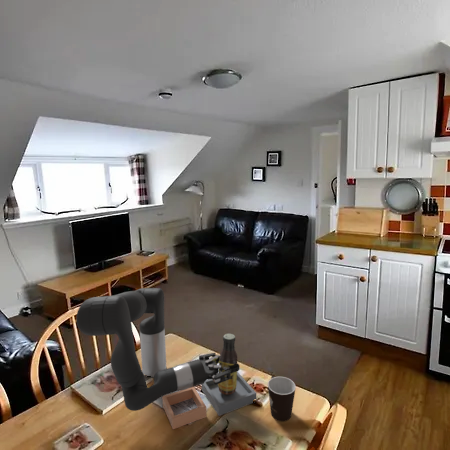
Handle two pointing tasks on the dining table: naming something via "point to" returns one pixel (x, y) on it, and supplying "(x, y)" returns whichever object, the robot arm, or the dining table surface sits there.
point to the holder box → (188, 415)
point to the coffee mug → (281, 397)
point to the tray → (229, 396)
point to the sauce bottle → (228, 364)
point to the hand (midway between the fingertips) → (234, 361)
